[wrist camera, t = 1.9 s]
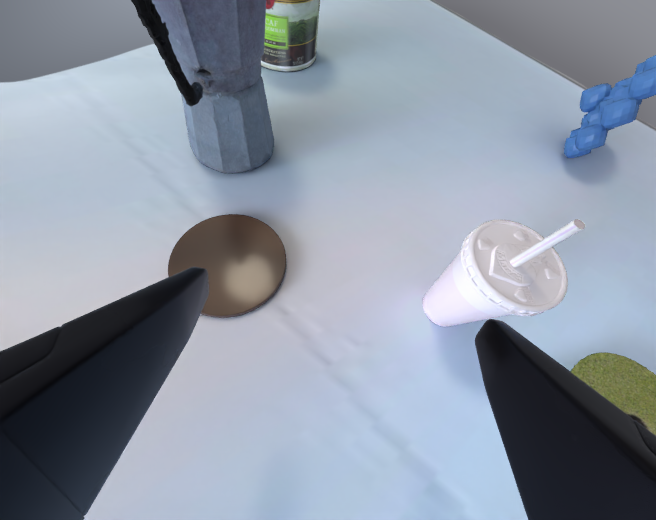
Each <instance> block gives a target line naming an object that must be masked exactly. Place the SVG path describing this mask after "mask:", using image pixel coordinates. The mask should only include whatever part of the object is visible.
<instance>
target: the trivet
mask: <svg viewBox="0 0 656 520" xmlns="http://www.w3.org/2000/svg"><path fill="white" fill-rule="evenodd" d="M191 267H199V268H205V269H206V270H207V271H208V279H209V295H208V298H207V300H206V302H205V305H204V307H203V309H202V311H201V314H203V315H206V316H211V317H219V318H225V317H235V316H239V315H243V314H246V313H248V312H251V311H253V310H255V309H257V308H258V307H260V306H261V305H263V304H264V303H266V302H267V301H268V300H269V299H270V298H271V297H272V296H273V295H274V293H275V292H276V291H277V289H278V288H279V286H280V285H281V282H282V280H283V278H284V274H285V270H286V254H285V249H284V246H283V243H282V241H281V239H280V238H279V236H278V235H277V234H276V232H275V231H274V230H273V229H272V228H271V227H269V226H268V225H267V224H265V223H264V222H262V221H260V220H258V219H255V218H253V217H249V216H245V215H237V214H229V215H221V216H216V217H212V218H209V219H207V220H204V221H202V222H200V223H198V224H196V225H195V226H194V227H192V228H191V229H189V230H188V231H187V232H186V233H185V234H184V235H183V236H182V237H181V238H180V239H179V241H178V242H177V244H176V245H175V247H174V249H173V251H172V253H171V256H170V260H169V265H168V275H169V277H171V276H173V275H175V274H177V273H180V272H182V271H184V270H186V269H189V268H191Z"/></svg>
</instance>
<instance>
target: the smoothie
mask: <svg viewBox="0 0 656 520" xmlns="http://www.w3.org/2000/svg"><path fill="white" fill-rule="evenodd" d="M584 228H585V224H584V223H583V222H582V221H581V220H578V219H575V220H573V221H572V222H570V223H569V224H567V225H565V226H564V227H562V228H561V229H559V230H557V231H556V232H554V233H553V234H551V235H549V236H548V237H546V238H543V237H542V236H541V235H540V234H538V233H537V232H536V231H534V230H532V229H531V228H529V227H527V226H525V225H522V224H520V223H517V222H513V221H509V220H491V221H488V222H485V223H483V224H481V225H480V226H479V227H477V228H476V229H475V230H474V231H472V232H470V233H469V235H468V236H467V237H466V238H465V239H464V242H463V245H462V248H461V251H460V252H459V253H458V255H457V256H456V257H455V259H454V260H453V261H452V262H451V263H450V265H449V266H448V267H447V268H446V270H445V271H444V272H443V273H442V274H441V276H440V277H439V278H438V279H437V280H436V282H435V283H434V284H433V285H432V287H431V288H430V289H429V290H428V291H427V293H426V294H425V295H424V298H423V309H424V312H425V314H426V315H427V317H428V318H429V319H430V320H431V321H432V322H433V323H435V324H437V325H439V326H442V327H450V326H455V325H460V324H465V323H470V322H476V321H481V320H486V319H491V318H496V317H501V316H508V315H512V314H514V315H518V316H534V315H537V314H540V313H543V312H545V311H546V310H549V309H552V308H554V307H556V306H557V305H558V304H559V303H560V302H561V301H562V300H563V298H564V297H565V295H566V292H567V286H568V279H567V273H566V269H565V266H564V264H563V262H562V260H561V258H560V256H559V254H558V253H557V252H556V250H555V249H554V248H553V246H555V245H557V244H558V243H560V242H562V241H564V240H565V239H567V238H569V237H570V236H572V235H574V234H576V233H577V232H579V231H581V230H583V229H584Z"/></svg>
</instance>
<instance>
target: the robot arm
mask: <svg viewBox="0 0 656 520" xmlns="http://www.w3.org/2000/svg"><path fill="white" fill-rule="evenodd" d="M208 295H209V279H208V271H207V270H206V269H205V268H199V267H191V268H189V269H186V270H184V271H182V272H180V273H177V274H175V275H173V276H171V277H168V278H166V279H164V280H162V281H159V282H157V283H155V284H153V285H150V286H148V287H146V288H144V289H141V290H139V291H137V292H135V293H132V294H130V295H128V296H126V297H124V298H121V299H119V300H117V301H115V302H112V303H110V304H108V305H106V306H103V307H101V308H99V309H97V310H94V311H92V312H90V313H88V314H85V315H83V316H81V317H79V318H76V319H74V320H72V321H70V322H67V323H65V324H63V325H62V326H61V327H56V328H54V329H52V330H49V331H47V332H45V333H43V334H40V335H38V336H36V337H33V338H31V339H29V340H26V341H24V342H22V343H19V344H17V345H15V346H13V347H10V348H8V349H5V350H3V351H0V520H83V519H84V516H85V515H86V514H87V512H88V510H89V509H90V507H91V505H92V503H93V502H94V500H95V498H96V497H97V495H98V493H99V492H100V490H101V488H102V486H103V485H104V483H105V481H106V480H107V478H108V476H109V475H110V473H111V471H112V469H113V468H114V466H115V464H116V463H117V461H118V459H119V458H120V456H121V454H122V452H123V451H124V449H125V447H126V446H127V444H128V442H129V441H130V439H131V437H132V435H133V434H134V432H135V430H136V429H137V427H138V425H139V424H140V422H141V420H142V419H143V417H144V415H145V413H146V412H147V410H148V408H149V407H150V405H151V403H152V402H153V400H154V398H155V396H156V395H157V393H158V391H159V390H160V388H161V386H162V385H163V383H164V381H165V379H166V378H167V376H168V374H169V373H170V371H171V369H172V368H173V366H174V364H175V362H176V361H177V359H178V357H179V356H180V354H181V352H182V351H183V349H184V347H185V345H186V344H187V342H188V340H189V338H190V336H191V334H192V332H193V329H194V327H195V325H196V323H197V320H198V318H199V316H200V314H201V311H202V309H203V307H204V305H205V302H206V300H207V298H208ZM475 345H476V350H477V354H478V359H479V363H480V368H481V372H482V377H483V381H484V385H485V389H486V392H487V396H488V399H489V402H490V405H491V408H492V411H493V414H494V417H495V420H496V423H497V426H498V429H499V432H500V435H501V438H502V441H503V444H504V447H505V450H506V453H507V456H508V459H509V462H510V466H511V469H512V472H513V475H514V478H515V481H516V484H517V487H518V490H519V493H520V496H521V499H522V502H523V505H524V508H525V511H526V514H527V517H528V520H656V435H654V434H653V433H652V432H650V431H649V430H648V429H646V428H645V427H644V426H642V425H641V424H640V423H638V422H637V421H635V420H633V419H632V418H631V417H630V416H629V415H627V414H626V413H625V412H623V411H622V410H621V409H619V408H618V407H617V406H615V405H614V404H613V403H611V402H610V401H609V400H607V399H606V398H605V397H603V396H602V395H601V394H599V393H598V392H597V391H595V390H594V389H593V388H591V387H590V386H589V385H587V384H586V383H585V382H583V381H582V380H581V379H579V378H578V377H577V376H575V375H574V374H573V373H571V372H570V371H569V370H567V369H566V368H565V367H563V366H562V365H561V364H559V363H558V362H557V361H555V360H554V359H553V358H551V357H550V356H549V355H547V354H546V353H545V352H543V351H542V350H541V349H539V348H538V347H537V346H535V345H534V344H533V343H531V342H530V341H529V340H527V339H526V338H525V337H523V336H522V335H521V334H519V333H518V332H517V331H515V330H514V329H513V328H511V327H510V326H509V325H507V324H506V323H505V322H503V321H500V320H494V319H489V320H487V321H486V322H485V323H484V325H483V326H482V328H481V329H480V331H479V332H478V334H477V335H476V338H475Z"/></svg>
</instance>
